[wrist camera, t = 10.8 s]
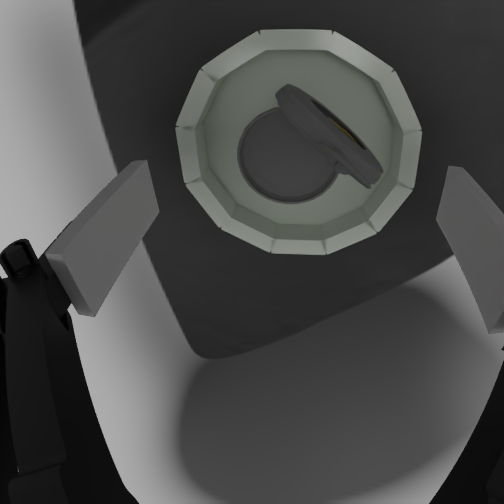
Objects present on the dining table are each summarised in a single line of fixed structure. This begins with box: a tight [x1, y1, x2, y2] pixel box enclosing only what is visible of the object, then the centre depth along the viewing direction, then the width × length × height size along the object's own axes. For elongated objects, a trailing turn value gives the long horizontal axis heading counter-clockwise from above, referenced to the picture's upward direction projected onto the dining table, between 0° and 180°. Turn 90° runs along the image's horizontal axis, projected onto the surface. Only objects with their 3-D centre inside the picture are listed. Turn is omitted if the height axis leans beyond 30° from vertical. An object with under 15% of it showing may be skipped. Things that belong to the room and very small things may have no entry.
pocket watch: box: [237, 84, 384, 204], centre depth 15 cm, size 8×8×10 cm
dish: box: [175, 29, 422, 255], centre depth 19 cm, size 15×15×3 cm
